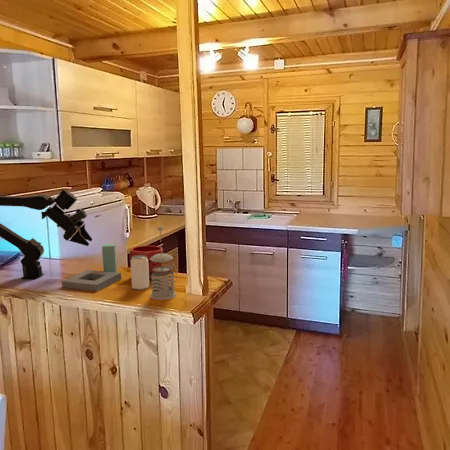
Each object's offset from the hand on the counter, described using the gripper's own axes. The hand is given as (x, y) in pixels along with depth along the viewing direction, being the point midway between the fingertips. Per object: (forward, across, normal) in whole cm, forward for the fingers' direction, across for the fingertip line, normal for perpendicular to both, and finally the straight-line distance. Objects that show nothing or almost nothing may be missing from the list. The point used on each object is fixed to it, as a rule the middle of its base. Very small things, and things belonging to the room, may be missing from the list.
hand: (90, 242), depth 185 cm
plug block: (+15, 0, +4) cm, 15 cm away
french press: (+31, -35, -12) cm, 48 cm away
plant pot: (+26, -9, -7) cm, 29 cm away
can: (+24, -23, -5) cm, 34 cm away
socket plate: (+11, -14, +8) cm, 19 cm away
